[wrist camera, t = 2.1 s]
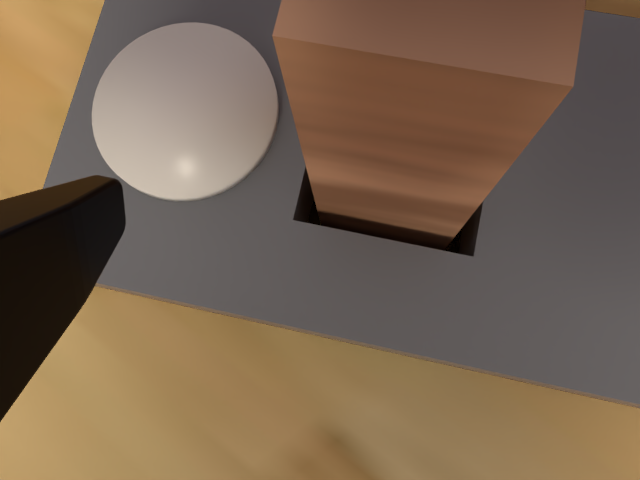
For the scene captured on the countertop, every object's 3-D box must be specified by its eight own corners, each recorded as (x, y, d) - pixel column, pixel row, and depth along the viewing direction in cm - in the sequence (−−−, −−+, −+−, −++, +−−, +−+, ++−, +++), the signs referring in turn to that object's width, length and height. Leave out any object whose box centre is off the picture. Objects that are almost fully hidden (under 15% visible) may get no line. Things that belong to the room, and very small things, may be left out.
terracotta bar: (440, 254, 21) (573, 86, 8) (322, 230, 21) (271, 35, 8) (461, 142, 22) (610, -170, 9) (347, 122, 22) (335, -204, 9)
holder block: (682, 417, 19) (766, 432, 15) (71, 280, 21) (7, 262, 17) (713, 91, 21) (794, 31, 17) (158, -1, 24) (119, -72, 20)
